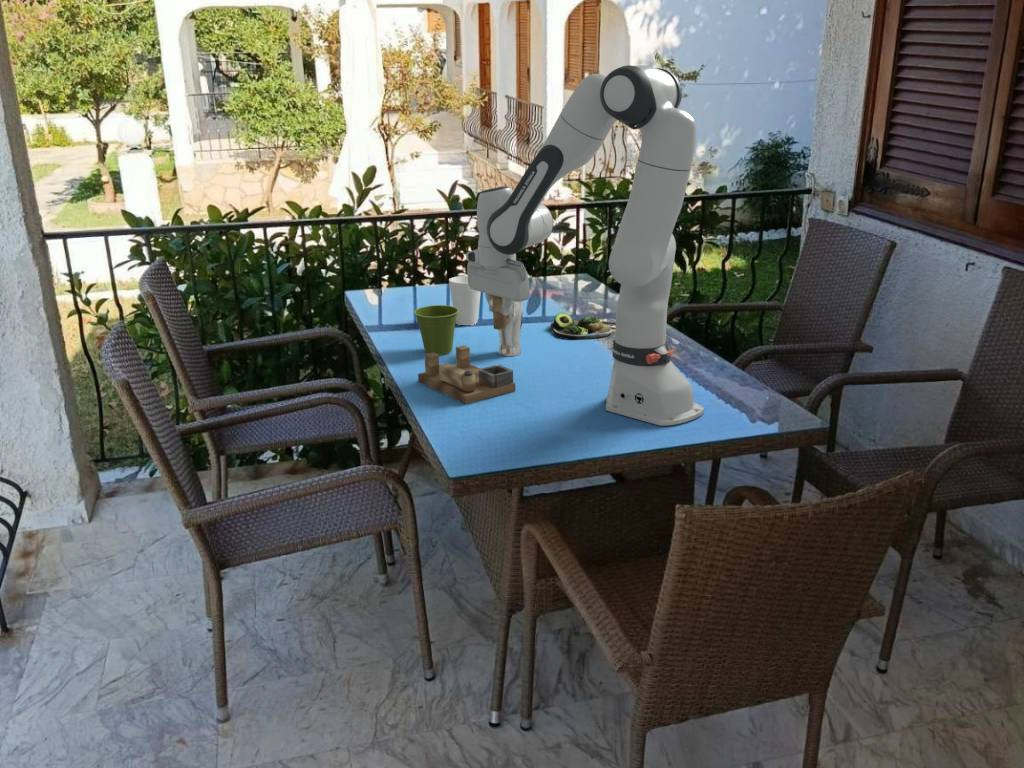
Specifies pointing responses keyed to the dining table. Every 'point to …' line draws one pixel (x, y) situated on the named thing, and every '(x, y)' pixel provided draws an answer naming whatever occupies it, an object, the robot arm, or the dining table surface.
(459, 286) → the foam cup
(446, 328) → the plant pot
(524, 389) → the dining table surface
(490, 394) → the wooden assembly base board
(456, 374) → the hinged leg
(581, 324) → the salad plate
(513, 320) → the beer glass
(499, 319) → the oak leg peg
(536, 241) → the robot arm
